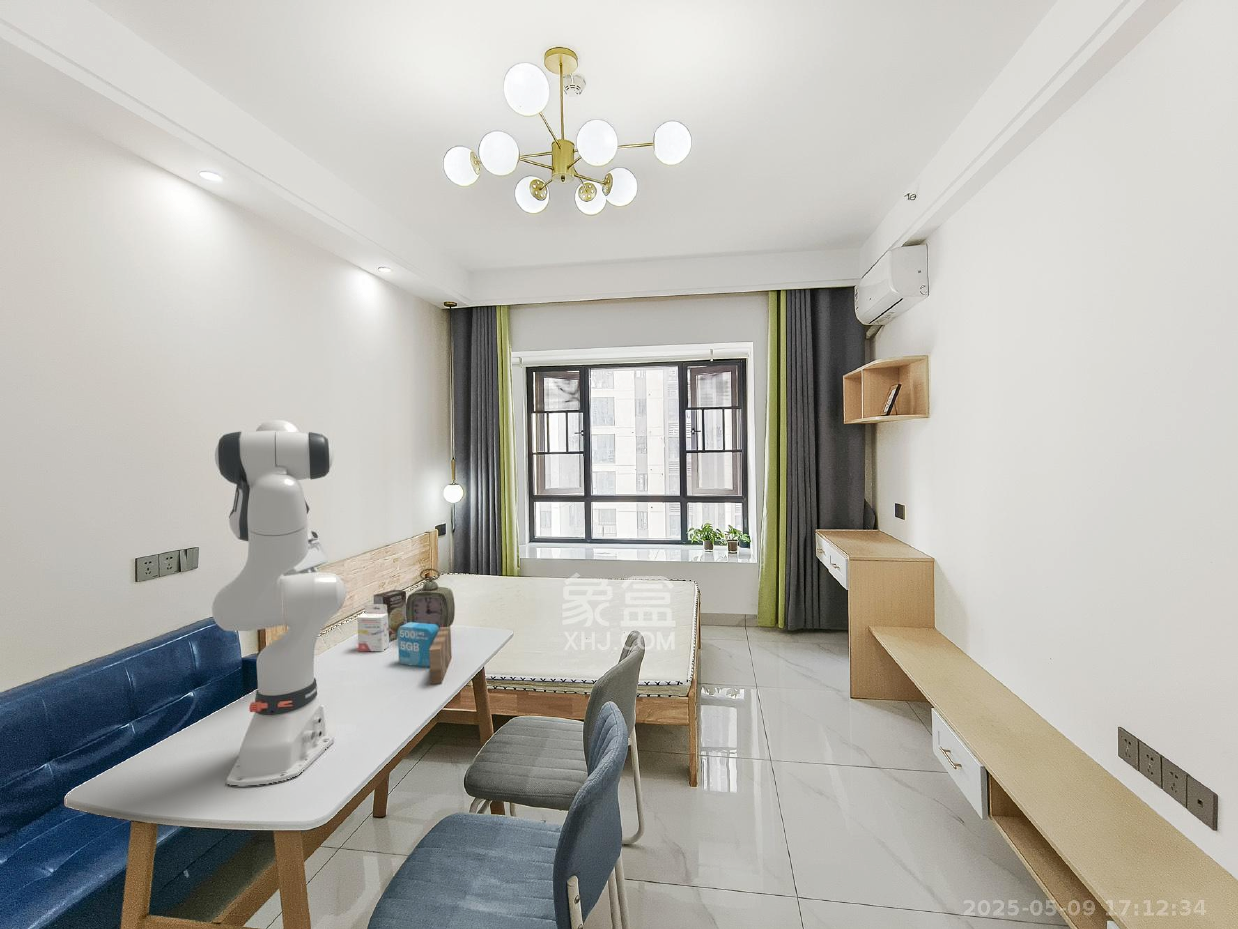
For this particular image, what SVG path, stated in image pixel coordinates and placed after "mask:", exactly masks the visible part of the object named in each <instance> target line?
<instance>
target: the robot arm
mask: <svg viewBox="0 0 1238 929" xmlns="http://www.w3.org/2000/svg"><path fill="white" fill-rule="evenodd" d="M214 461H215V464H216V465H215V466H217V469H218V470H219V473H220V475H221V476H222V477H223V478H224V479H225V480H226V481H227V482H230V483H231V484H234V485H236V487H235V494H234V499H233V505H232V510H231V511H230V513H229V515H228V518H229V520H228V522H229V527H230V529H231V531H232V533H233V535H235V537H236V539H238V540H241V541H245V542H248V546H247V548H248V552H247V560H246V562H245V565H244V566H243V569H242V570H241V571H240V573H238V575H237V576H236V577H235V578H234V579H233V580H232V581H230V582H229V583H228V584H227V585H224V586H223V587H222V588H221V589H219V591H218V593H217V594H216V595H215V596H214V599H213V602H212V606H211V612H212V617H213V619H214V622H215V623H216V624H217V625H218V627H219V628H221V629H222V630H224V631H225V632H230V631H231V632H251V631H257V630H265V629H270V628H271V629H272V628H277V627H287V629H286V631H285V633H284V634H283V635H281V636H280V637H278V638H277V639H275V640H274V641H272V642H270V643H269V644H267V645H266V646H265V647H264V648H263V649H262V650H261V651H260V652H259V653H258V656H257V657H256V675H257V677H256V679H257V680H256V681H257V690H256V692H255V697H254V701H251V702H250V704H249V709H248V710H249V712H250V713H253V716H252V718H251V720H250V722H249V725H248V728H247V730H246V733H245V735H244V737H243V741H242V742H241V746H240V749H239V756H238V757H237V759H236V761H235V763H234V765H233V767H232V769H231V771H230V772H229V774H228V775H227V778H226V784H227V785H228V784H231V785H238V786H237V787H246V786H245V785H257V786H259V785H258V784H266V785H270V784H269V783H272V784H274V783H273V782H276V781H282V780H284V779H288V778H292V777H295V776H297V775H299V774H300V773H301V772H302V773H303V772H304V771H306V769H307V768H309V766H311V765H312V763H314V762H315V760H316V759H318V758H319V756H321V755H322V754H323V753H324V752H325V751H326V750H327V749H328V748H329V747H330V746H331V745H332V744H333V743H334V742H335V736H334V735H332V734H329V733H328V727H327V719H326V709H325V706H324V705H323V704H322V703H321V702H320V701H319V700H318V698H317V696H318V684H317V679H316V678H315V665H314V663H315V660H314V659H315V648H316V643H317V640H318V638H319V635H320V634H321V632H322V631H323V628H324V627H325V626H326V624H327V623H328V622H329V621H330V620H331V619H332V618H333V617H334V616H336V615H337V614H338V613H339V612H340V610H341V609H342V607H344V603H345V601H346V596H347V594H346V593H347V591H346V586H345V584H344V581H343V580H342V579H341V578H340V576H338V575H337V574H336V573H333V572H319V570H318V568H317V567H320V566H322V565H324V564H326V563H327V562H328V560H329V559H328V555H327V553H326V550H325V547H324V546H323V544H322V543H321V541H320V540H319V539H320V535H319V534H318V532H317V531H314V530H313V529H310V528H309V526H308V514H309V511H310V507H309V505H308V502H306V498H305V495H304V491H303V488H302V484H301V482H300V481H301V480H307V479H310V480H317V479H321V478H325V477H326V476H327V475H328V474H329V472H330V469H331V468H332V465H333V462H334V451H333V447H332V445H331V443H330V441H329V439H328V438H327V437H326V436H324V434H322V433H318V432H313V431H309V432H307V433H305V432H300V431H299V429H298V428H297V427H296V425H294V424H293V423H292V422H290V421H287V420H282V419H270V420H267V421H265V422H263V423H261V424H260V425H259V426H258V427H257V428H256V430H255V431H248V432H247V431H246V432H242V431H234V432H229V433H225V434H223V435H222V436H221V437H220V438H219V440H218V443H217V445H216V448H215V452H214ZM327 747H328V748H327ZM325 749H326V750H325ZM303 770H304V771H303ZM302 773H301V774H302ZM301 774H300V775H301ZM300 775H299V776H300ZM297 777H298V776H297ZM295 778H296V777H295ZM292 779H293V778H292ZM282 782H283V781H282ZM231 785H230V786H231Z"/></svg>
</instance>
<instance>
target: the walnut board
mask: <svg viewBox="0 0 1238 929" xmlns="http://www.w3.org/2000/svg"><path fill="white" fill-rule="evenodd" d="M451 634H452V630H451V626H450V627H441V628H440V630H439V632H438V634H437V636H436V638H435V639H434V641H433V643H432V645H431V647H430V649H429V656H430V667H429V676H430V677H429V678H430V685H442V683H443V681H444V679H445V676H446V673H447V671H448V668H449V666H450V664H451V661H452V654H453V653H452V635H451Z"/></svg>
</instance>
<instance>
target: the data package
mask: <svg viewBox="0 0 1238 929" xmlns="http://www.w3.org/2000/svg"><path fill="white" fill-rule="evenodd" d="M438 632H439V628H438V626H437V625H435V624H425V623H413V622H409V623H407V624H405V625H403V626H401V627H399V628H398V639H397V643H398V646H397V647H398V661H399V663H400V664H401V665H404V664H411V665H410V666H413V665H417V666H416V667H422V666H423V667H425V668H430V656H429V649H430V647H431V645H432V643H433V641H434V639H435V638H436V636H437V634H438Z"/></svg>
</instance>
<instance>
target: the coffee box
mask: <svg viewBox="0 0 1238 929" xmlns="http://www.w3.org/2000/svg"><path fill="white" fill-rule="evenodd" d="M372 595H373V604H380V605H387V613H388V629H389V641H390V642H392V641H391V640H393V639H395V640H398V639H397V638H398V628H399V627H401V626H403V625H405V624H407V617H406V603H407V591H406V590H401V589H392V590H387V591H384V592H380V593H377V594H372ZM373 609H378V610H379V609H380V608H377V607H375V608H373ZM393 641H394V640H393Z"/></svg>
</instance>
